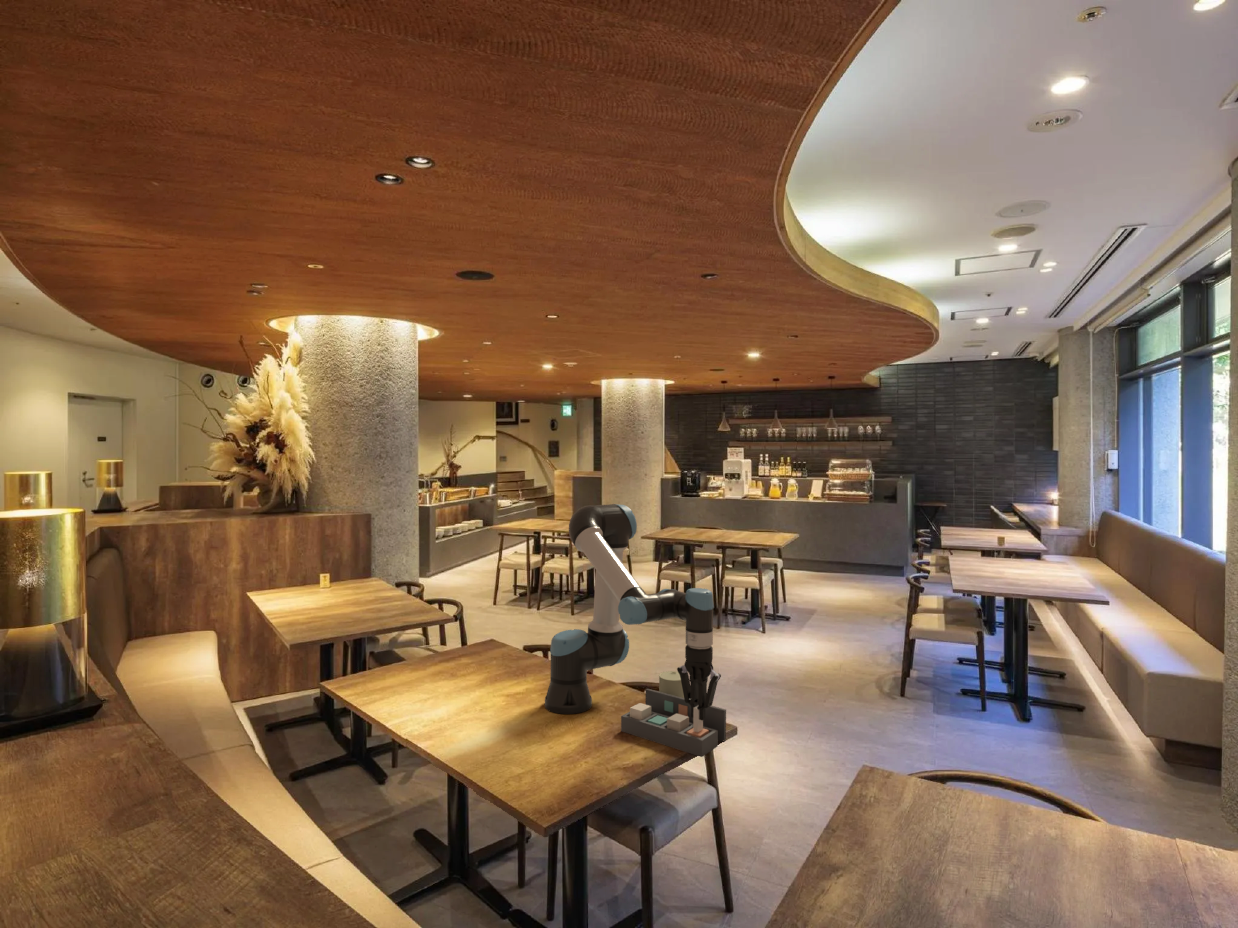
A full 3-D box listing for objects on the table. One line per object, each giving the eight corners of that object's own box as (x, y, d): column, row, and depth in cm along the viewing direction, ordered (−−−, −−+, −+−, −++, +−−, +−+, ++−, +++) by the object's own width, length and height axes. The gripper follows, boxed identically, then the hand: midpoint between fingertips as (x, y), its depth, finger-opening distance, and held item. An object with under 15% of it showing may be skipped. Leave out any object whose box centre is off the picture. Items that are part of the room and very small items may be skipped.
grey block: (666, 732, 193) (667, 718, 193) (676, 726, 197) (676, 713, 197) (679, 736, 190) (679, 722, 190) (688, 730, 194) (689, 716, 194)
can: (687, 707, 220) (688, 670, 220) (687, 718, 211) (688, 679, 211) (658, 705, 221) (659, 668, 221) (657, 716, 212) (658, 678, 212)
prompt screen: (644, 718, 210) (645, 689, 210) (647, 717, 211) (647, 688, 211) (723, 742, 194) (724, 710, 193) (725, 740, 195) (726, 709, 194)
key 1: (629, 721, 201) (629, 707, 201) (639, 716, 205) (639, 702, 205) (641, 724, 198) (641, 710, 198) (651, 719, 202) (651, 706, 202)
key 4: (686, 746, 189) (686, 731, 189) (695, 740, 193) (695, 726, 193) (699, 750, 187) (699, 735, 186) (708, 744, 191) (708, 729, 190)
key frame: (621, 730, 201) (621, 715, 201) (638, 721, 207) (638, 707, 207) (701, 756, 184) (702, 740, 184) (717, 746, 191) (717, 730, 191)
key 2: (647, 734, 197) (648, 720, 197) (657, 728, 201) (657, 715, 201) (659, 737, 194) (660, 723, 194) (669, 732, 198) (669, 718, 198)
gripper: (671, 644, 190) (670, 728, 191) (712, 652, 182) (711, 740, 183) (686, 638, 196) (685, 720, 197) (726, 646, 188) (725, 731, 189)
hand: (698, 730), depth 190 cm, fingers closed
